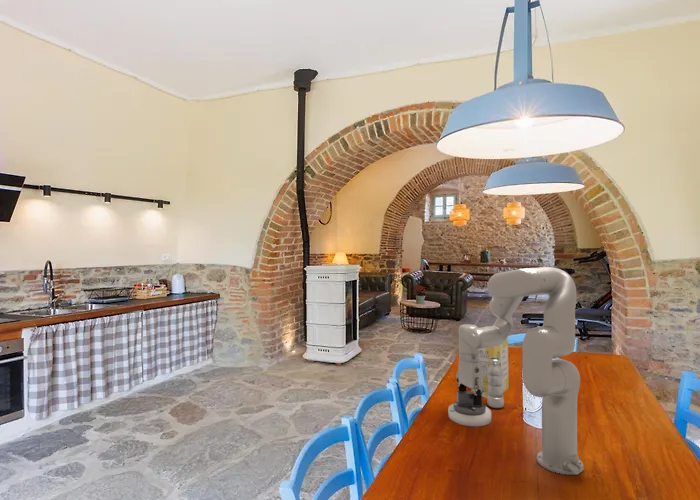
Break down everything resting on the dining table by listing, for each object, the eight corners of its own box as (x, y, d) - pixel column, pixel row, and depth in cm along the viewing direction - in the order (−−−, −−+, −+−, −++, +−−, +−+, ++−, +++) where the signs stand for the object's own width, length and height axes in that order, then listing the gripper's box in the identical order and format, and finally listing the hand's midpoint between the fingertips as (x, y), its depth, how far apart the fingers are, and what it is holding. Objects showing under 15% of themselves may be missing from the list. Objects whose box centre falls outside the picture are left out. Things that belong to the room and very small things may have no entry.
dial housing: (499, 424, 152) (499, 415, 152) (458, 427, 150) (458, 418, 150) (479, 408, 168) (479, 400, 168) (442, 410, 166) (442, 402, 166)
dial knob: (481, 403, 165) (480, 387, 165) (489, 415, 153) (489, 398, 153) (450, 403, 166) (450, 387, 166) (456, 415, 154) (456, 397, 154)
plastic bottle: (505, 410, 165) (505, 361, 165) (487, 409, 167) (487, 360, 167) (502, 404, 172) (502, 357, 172) (486, 403, 173) (485, 356, 173)
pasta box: (486, 383, 198) (486, 326, 198) (508, 388, 192) (508, 328, 192) (471, 394, 184) (470, 332, 184) (494, 399, 178) (494, 335, 178)
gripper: (491, 361, 152) (492, 407, 152) (464, 350, 169) (465, 392, 168) (474, 363, 150) (474, 410, 150) (448, 352, 166) (449, 394, 166)
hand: (469, 400), depth 159 cm, fingers open, 9 cm apart
